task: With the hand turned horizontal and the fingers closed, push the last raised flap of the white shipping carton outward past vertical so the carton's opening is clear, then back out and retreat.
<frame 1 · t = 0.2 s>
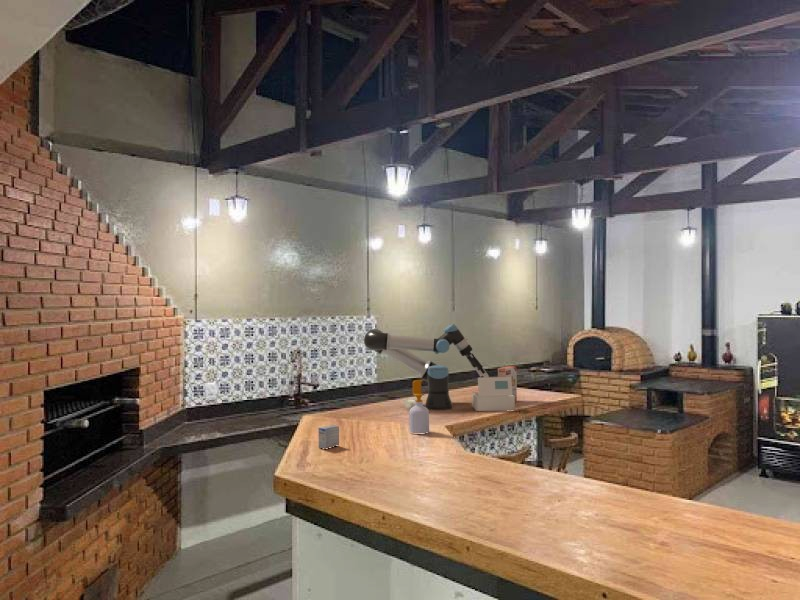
hand: (484, 376, 342), 15 cm above the counter, tool tilted 35°, fingers open, 13 cm apart
soap bottle: (419, 433, 266), on the counter
cracker box: (507, 402, 342), on the counter
medicine box: (329, 448, 242), on the counter
front flap: (495, 386, 316), point 13 cm above the counter, hinge at 75.0°
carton: (493, 408, 323), on the counter
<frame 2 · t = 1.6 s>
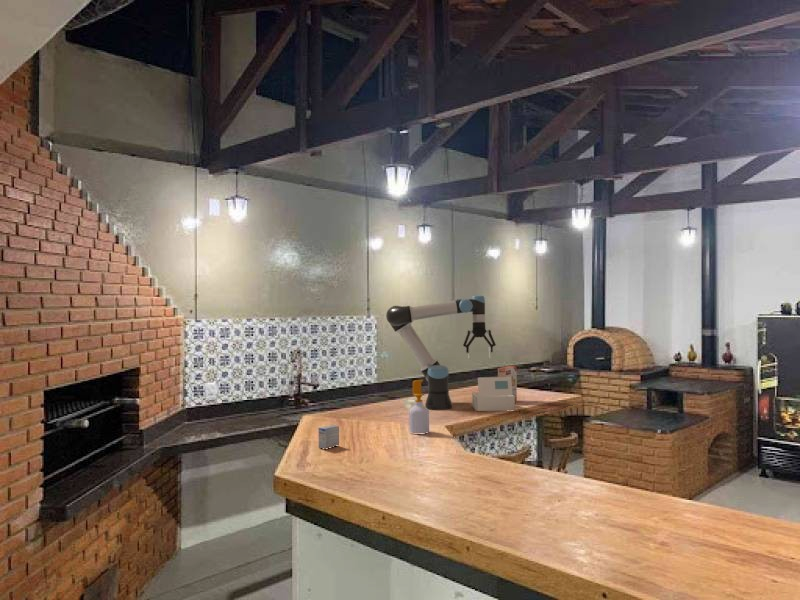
hand: (479, 358, 343), 26 cm above the counter, tool pointing down, fingers open, 12 cm apart
nothing on the counter moved.
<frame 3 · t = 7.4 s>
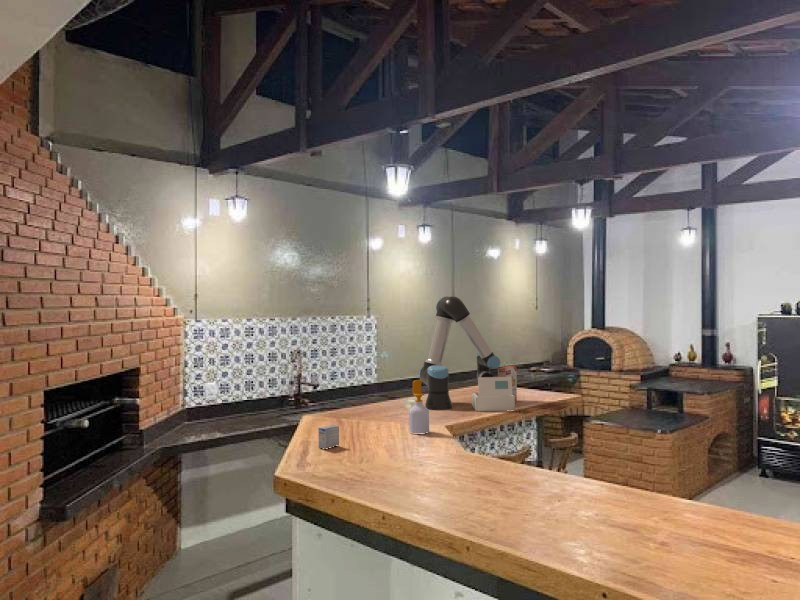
hand: (494, 384, 316), 14 cm above the counter, tool horizontal, fingers closed
front flap: (495, 386, 316), point 14 cm above the counter, hinge at 78.5°, touching gripper
everything else where it was.
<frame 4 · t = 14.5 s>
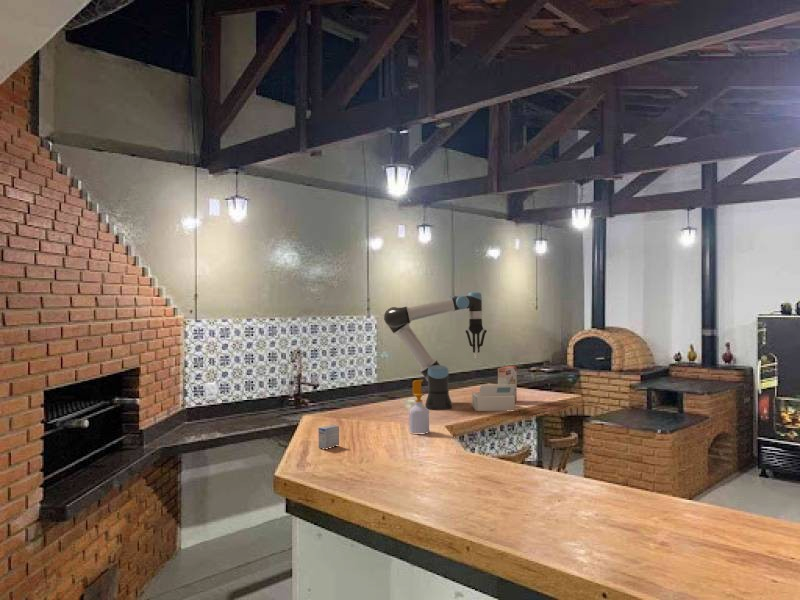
hand: (476, 358, 343), 26 cm above the counter, tool pointing down, fingers closed
front flap: (496, 390, 311), point 12 cm above the counter, hinge at 136.3°
everything else where it was.
at the end: front flap at +136° (first picture: +75°) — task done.
